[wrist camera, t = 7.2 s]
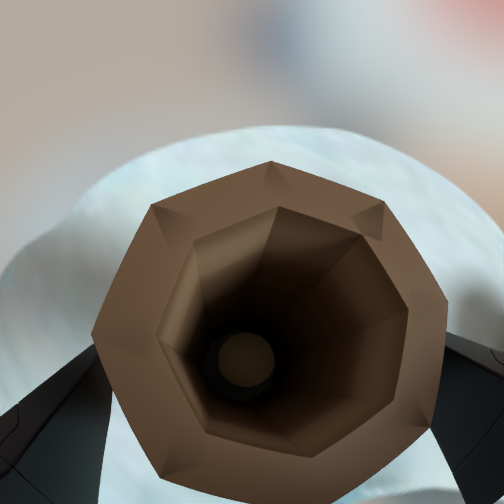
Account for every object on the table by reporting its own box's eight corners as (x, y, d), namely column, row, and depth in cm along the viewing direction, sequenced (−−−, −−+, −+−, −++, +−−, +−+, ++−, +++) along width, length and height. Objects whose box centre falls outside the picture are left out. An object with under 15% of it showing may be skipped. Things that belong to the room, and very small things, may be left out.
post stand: (325, 433, 16) (362, 448, 11) (160, 444, 14) (139, 467, 10) (309, 283, 20) (338, 250, 15) (155, 288, 18) (135, 254, 14)
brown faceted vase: (309, 384, 16) (480, 370, 4) (217, 432, 15) (217, 555, 3) (260, 298, 18) (336, 141, 6) (169, 341, 16) (65, 242, 5)
